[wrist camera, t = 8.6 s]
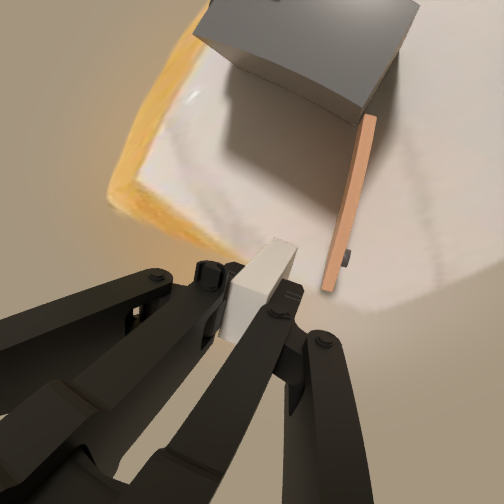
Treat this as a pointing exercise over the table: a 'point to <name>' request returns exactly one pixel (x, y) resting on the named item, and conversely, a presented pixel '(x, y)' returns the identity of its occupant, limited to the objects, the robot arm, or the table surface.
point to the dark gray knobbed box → (312, 45)
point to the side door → (349, 202)
